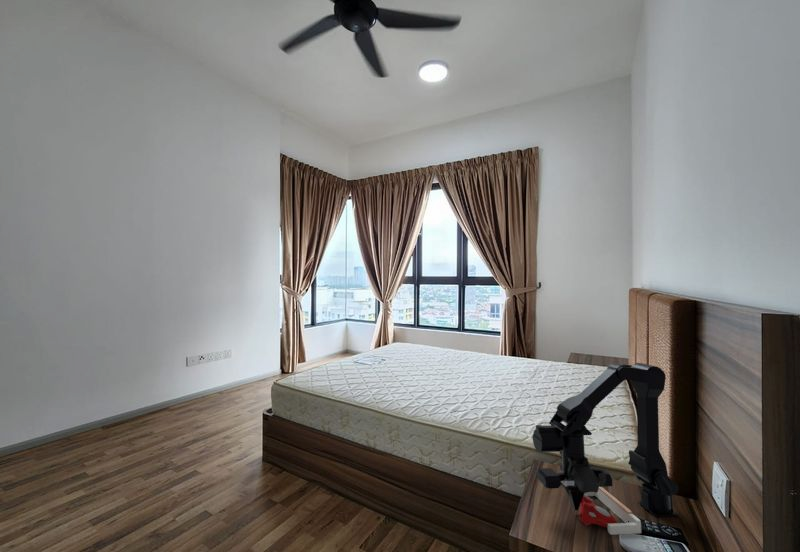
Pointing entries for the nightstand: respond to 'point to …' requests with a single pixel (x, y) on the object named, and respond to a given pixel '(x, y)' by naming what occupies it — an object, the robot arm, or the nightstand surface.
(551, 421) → the robot arm
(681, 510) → the nightstand surface
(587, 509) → the tracker holder
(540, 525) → the nightstand surface
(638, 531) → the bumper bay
